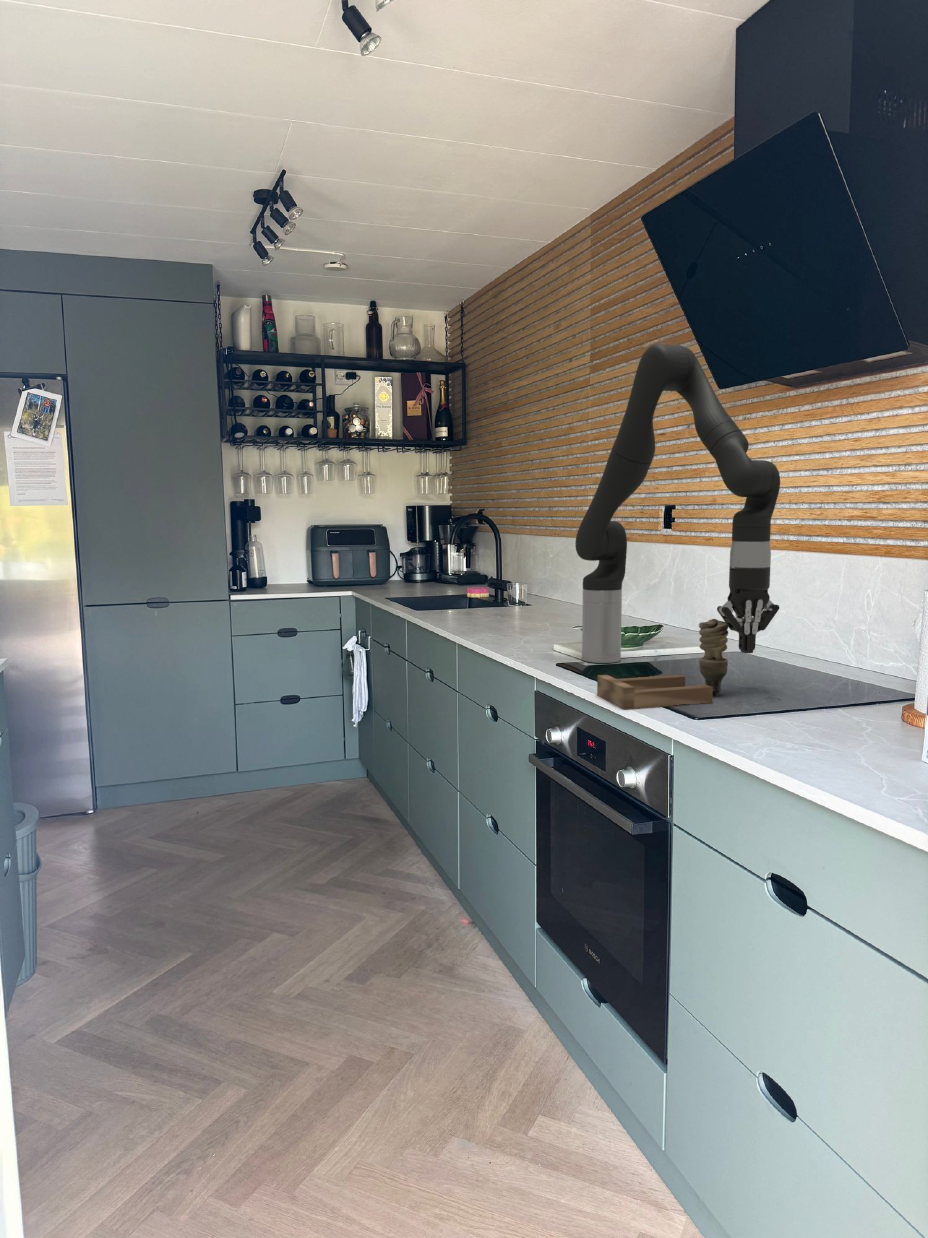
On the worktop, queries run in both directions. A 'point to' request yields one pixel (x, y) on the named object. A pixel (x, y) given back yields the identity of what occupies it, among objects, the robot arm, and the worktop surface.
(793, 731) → the worktop surface
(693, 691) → the tray
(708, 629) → the light bulb
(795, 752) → the worktop surface
